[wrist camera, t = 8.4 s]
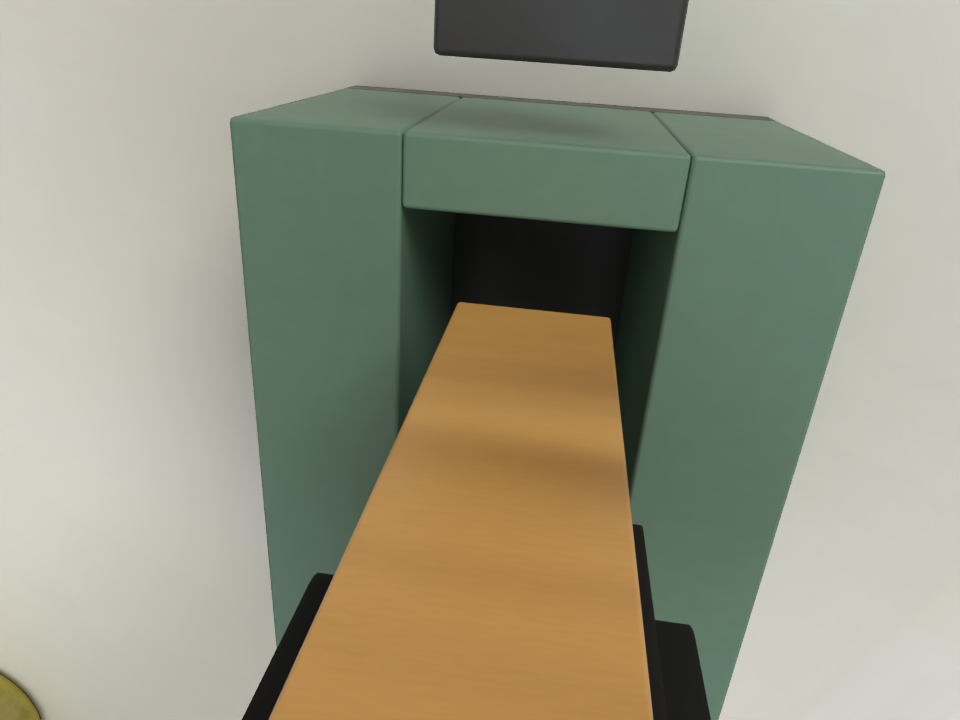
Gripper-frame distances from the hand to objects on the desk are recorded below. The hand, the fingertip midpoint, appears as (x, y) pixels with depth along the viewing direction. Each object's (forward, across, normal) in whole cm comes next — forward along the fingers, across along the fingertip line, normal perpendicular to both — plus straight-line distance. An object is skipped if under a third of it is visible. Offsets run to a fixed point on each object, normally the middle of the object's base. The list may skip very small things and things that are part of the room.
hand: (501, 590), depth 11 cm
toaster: (+10, 0, 0) cm, 10 cm away
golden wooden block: (+2, 0, 0) cm, 2 cm away
